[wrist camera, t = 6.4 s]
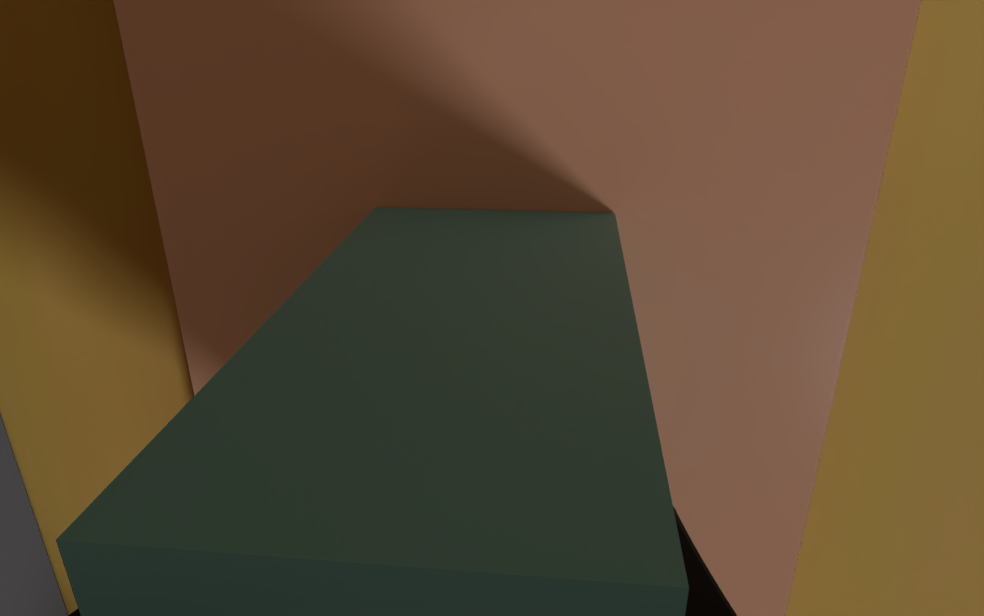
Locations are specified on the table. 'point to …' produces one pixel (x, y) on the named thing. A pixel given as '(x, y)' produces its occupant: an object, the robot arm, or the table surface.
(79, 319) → the table surface
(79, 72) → the table surface
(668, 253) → the terracotta tile
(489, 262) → the teal block
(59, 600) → the pocket board
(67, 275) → the table surface
